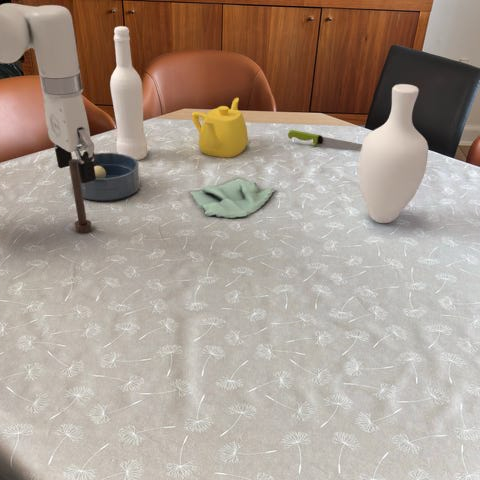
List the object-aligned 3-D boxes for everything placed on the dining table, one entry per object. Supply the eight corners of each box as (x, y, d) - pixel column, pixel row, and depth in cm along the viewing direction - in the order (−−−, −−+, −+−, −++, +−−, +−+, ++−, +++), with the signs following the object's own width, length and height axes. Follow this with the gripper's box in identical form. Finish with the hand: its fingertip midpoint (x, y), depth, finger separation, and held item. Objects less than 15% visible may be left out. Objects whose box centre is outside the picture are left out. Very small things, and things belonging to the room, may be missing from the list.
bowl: (93, 208, 151) (90, 185, 147) (61, 185, 160) (57, 162, 156) (152, 191, 158) (151, 168, 154) (118, 169, 167) (116, 147, 163)
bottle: (111, 156, 173) (96, 27, 153) (131, 147, 178) (119, 21, 158) (134, 164, 170) (121, 33, 150) (154, 154, 175) (145, 26, 154)
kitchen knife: (365, 155, 181) (368, 144, 179) (365, 156, 180) (367, 145, 178) (287, 140, 183) (289, 129, 181) (286, 141, 182) (288, 130, 180)
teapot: (207, 131, 189) (207, 91, 181) (258, 138, 185) (259, 98, 177) (176, 158, 174) (174, 115, 166) (230, 167, 170) (230, 123, 162)
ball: (96, 185, 159) (94, 170, 156) (89, 180, 161) (87, 165, 158) (109, 181, 160) (107, 167, 158) (102, 176, 162) (100, 162, 160)
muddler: (80, 234, 141) (69, 165, 131) (72, 228, 143) (60, 159, 133) (95, 230, 143) (85, 161, 132) (87, 224, 145) (76, 156, 134)
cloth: (201, 221, 147) (200, 211, 145) (186, 182, 162) (186, 172, 161) (288, 215, 150) (289, 204, 148) (266, 177, 166) (266, 167, 164)
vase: (362, 201, 156) (381, 73, 137) (421, 214, 152) (450, 83, 132) (341, 225, 146) (360, 91, 127) (404, 240, 142) (432, 103, 123)
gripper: (23, 76, 126) (41, 165, 138) (65, 99, 116) (80, 192, 128) (58, 69, 129) (73, 156, 141) (101, 91, 120) (114, 182, 131)
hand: (77, 173), depth 134 cm, fingers open, 9 cm apart
